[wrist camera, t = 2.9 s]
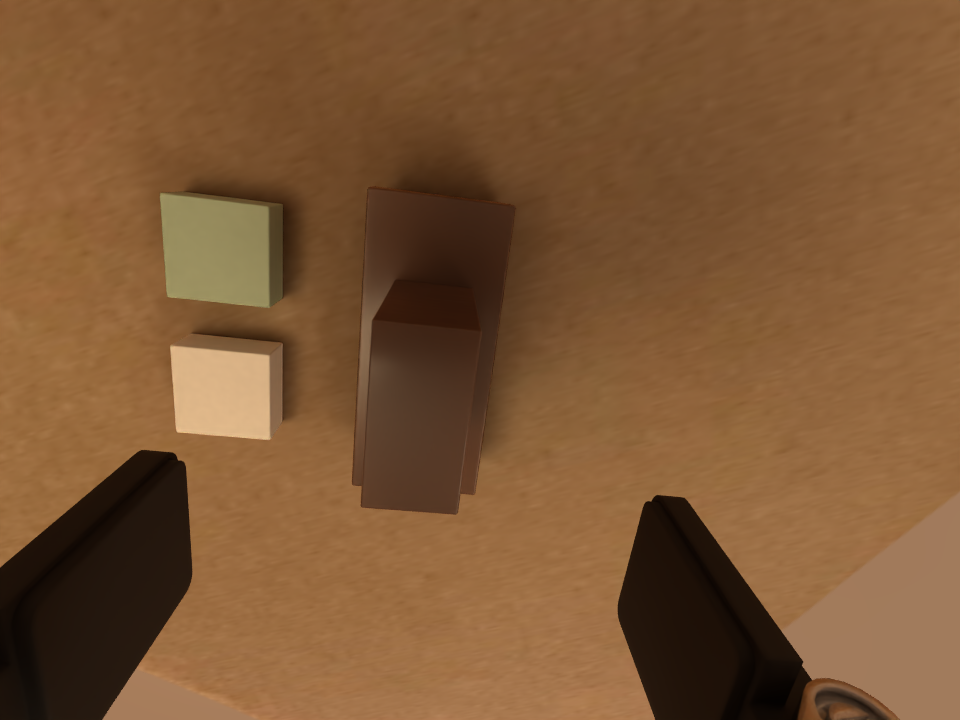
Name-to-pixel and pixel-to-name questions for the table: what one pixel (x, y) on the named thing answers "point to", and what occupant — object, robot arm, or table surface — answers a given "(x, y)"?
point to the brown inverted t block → (426, 345)
